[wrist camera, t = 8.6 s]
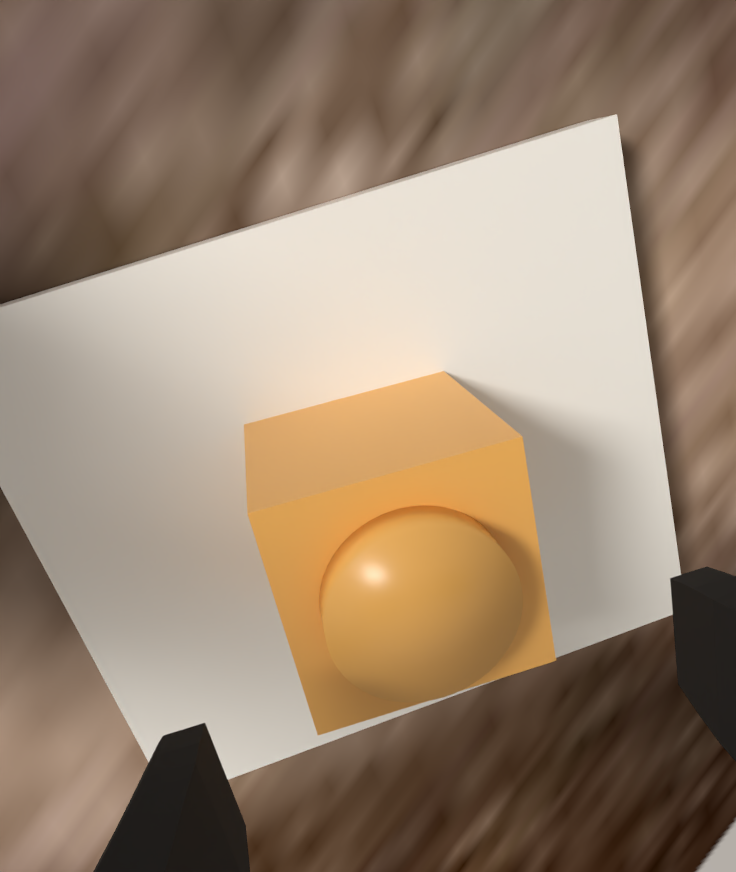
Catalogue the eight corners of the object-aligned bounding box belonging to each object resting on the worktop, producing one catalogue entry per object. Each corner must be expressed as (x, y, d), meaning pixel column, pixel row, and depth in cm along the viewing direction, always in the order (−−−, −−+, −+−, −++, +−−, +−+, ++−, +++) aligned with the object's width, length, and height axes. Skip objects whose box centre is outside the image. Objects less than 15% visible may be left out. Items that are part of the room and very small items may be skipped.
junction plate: (173, 761, 21) (156, 921, 16) (-55, 321, 16) (-174, 372, 11) (657, 583, 22) (769, 686, 18) (585, 120, 17) (716, 92, 12)
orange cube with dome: (296, 598, 18) (322, 766, 13) (243, 424, 17) (247, 534, 11) (476, 545, 19) (574, 686, 13) (443, 370, 17) (540, 452, 12)
